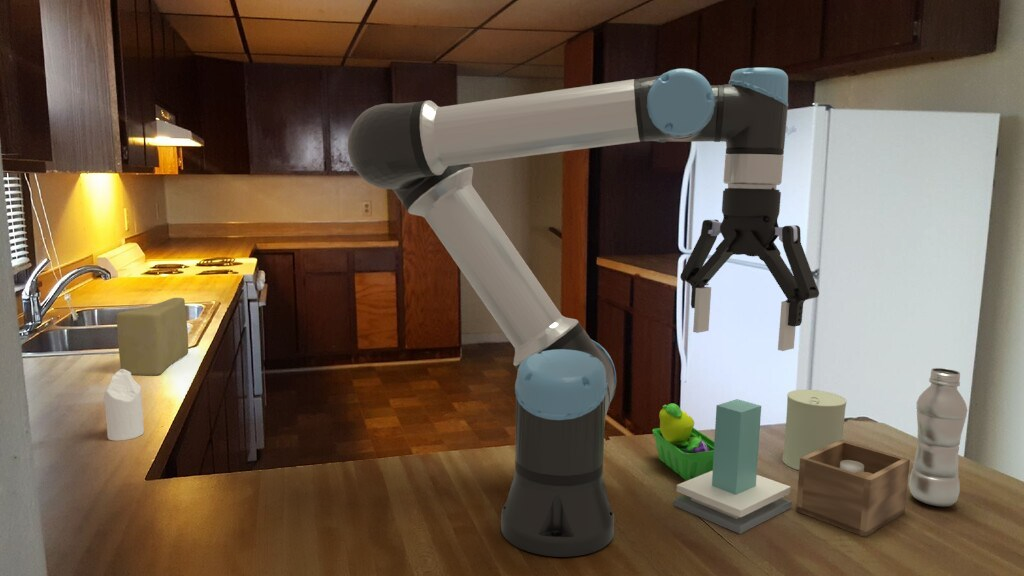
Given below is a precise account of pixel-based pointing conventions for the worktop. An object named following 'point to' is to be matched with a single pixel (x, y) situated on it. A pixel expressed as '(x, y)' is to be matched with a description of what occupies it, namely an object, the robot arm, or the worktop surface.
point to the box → (852, 487)
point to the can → (811, 423)
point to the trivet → (730, 522)
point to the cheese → (152, 337)
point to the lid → (735, 465)
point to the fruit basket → (683, 444)
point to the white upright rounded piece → (123, 407)
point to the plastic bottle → (938, 440)
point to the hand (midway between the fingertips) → (741, 340)
